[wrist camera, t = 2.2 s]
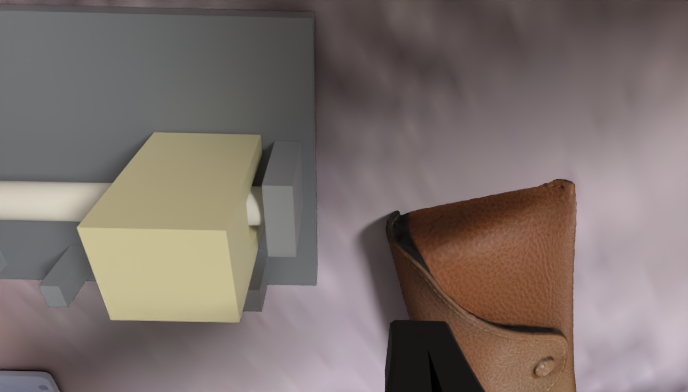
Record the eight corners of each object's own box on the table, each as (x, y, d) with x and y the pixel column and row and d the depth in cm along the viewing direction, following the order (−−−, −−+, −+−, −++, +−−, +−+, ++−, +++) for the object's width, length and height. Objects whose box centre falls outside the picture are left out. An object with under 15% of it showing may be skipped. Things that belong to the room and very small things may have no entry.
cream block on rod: (260, 134, 17) (226, 230, 12) (267, 212, 19) (239, 322, 14) (153, 132, 17) (76, 227, 12) (171, 210, 19) (110, 320, 14)
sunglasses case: (585, 409, 29) (565, 521, 24) (474, 375, 33) (440, 466, 28) (577, 165, 19) (542, 279, 15) (422, 161, 23) (360, 249, 19)
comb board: (314, 11, 16) (304, 47, 12) (317, 270, 23) (311, 345, 19) (-299, -4, 16) (-497, 28, 12) (-116, 261, 22) (-208, 335, 19)
